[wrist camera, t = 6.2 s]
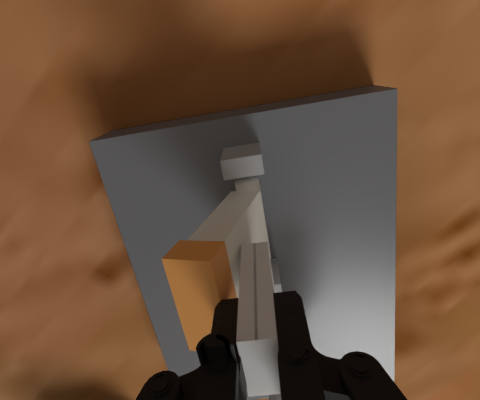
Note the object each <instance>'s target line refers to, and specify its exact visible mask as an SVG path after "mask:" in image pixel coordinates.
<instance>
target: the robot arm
mask: <svg viewBox="0 0 480 400" xmlns="http://www.w3.org/2000/svg"><path fill="white" fill-rule="evenodd" d="M196 351H197V354H198V358H199V361H200V365H201V366H199V367H198V368H197V369H195V370H193V371H191V372H189V373H187V374H184V375H182V376H178V375H177V374H176V373H175V372H172V371H162V372H159V373H156V374H155V375H153V376H152V377H151V378H149V379H148V381H147V382H146V383H145V384H144V386H143V388H142V390H141V391H140V393H139V395H138V396H137V398H136V400H247V393H248V397H252V396H264V395H274V394H281V400H407V399H406V397H405V396H404V395H403V393H402V392H401V391H400V389H399V388H398V387H397V385H396V384H395V383H394V381H393V380H392V379H391V377H390V376H389V375H388V373H387V372H386V371H385V369H384V368H383V367H382V365H381V364H380V363H379V362H378V361H377V360H376V359H375V358H374V357H373V356H371V355H369V354H367V353H365V352H359V351H355V352H349V353H347V354H345V355H344V356H343V357H342V358H341V359H336V358H331V357H327V356H325V355H323V354H321V353H319V352H318V351H317V350H316V349H315V348H314V346H313V344H312V342H311V338H310V333H309V329H308V324H307V319H306V315H305V310H304V306H303V301H302V297H301V296H300V295H299V294H298V293H297V292H296V291H286V292H277V293H275V287H274V280H273V273H272V267H271V260H270V254H269V248H268V241H267V242H259V243H252V244H244V245H241V263H240V281H239V298H232V299H224V300H221V301H220V302H219V303H218V304H217V306H216V307H215V310H214V316H213V323H212V329H211V334H208V335H206V336H205V337H203V338H202V339H201V340H200V341H199V342H198V344H197V347H196Z"/></svg>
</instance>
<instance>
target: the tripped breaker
mask: <svg viewBox="0 0 480 400" xmlns="http://www.w3.org/2000/svg"><path fill="white" fill-rule="evenodd" d="M235 188H236V191H231V192H230V193H229V194H228V195H227V197H226V198H225V199H224V200H223V201H222V202H221V203H220V204H219V205H218V207H217V208H216V209H215V210H214V211H213V212H212V213H211V214H210V215H209V216H208V218H207V219H206V220H205V221H204V222H203V223H202V224H201V225H200V226H199V228H198V229H197V230H196V231H195V232H194V233H193V234H192V235H191V236H190V237H189V239H188V240H179V241H178V242H177V243H176V244H175V245H174V246H173V247H172V248H171V249H170V250H169V251H168V253H167V254H166V255H165V256H164V257H163V258H162V262H163V266H164V269H165V272H166V275H167V279H168V282H169V285H170V288H171V292H172V295H173V298H174V302H175V305H176V308H177V311H178V315H179V318H180V321H181V325H182V328H183V331H184V334H185V338H186V341H187V344H188V347H189V350H191V351H196V347H197V344H198V342H199V341H200V340H201V339H202V338H203V337H205V336H206V335H208V334H211V329H212V323H213V316H214V310H215V307H216V306H217V304H218V303H219V302H220V301H221V300H224V299H232V298H239V281H240V263H241V245H244V244H252V243H259V242H267V241H268V248H269V254H270V260H271V253H270V247H269V240H268V234H267V228H266V221H265V215H264V208H263V202H262V196H261V189H260V183H259V178H258V177H253V176H251V177H244V178H240V179H238V180H236V181H235Z"/></svg>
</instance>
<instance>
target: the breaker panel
mask: <svg viewBox="0 0 480 400" xmlns="http://www.w3.org/2000/svg"><path fill="white" fill-rule="evenodd" d="M89 143H90V146H91V149H92V152H93V155H94V158H95V161H96V164H97V166H98V169H99V172H100V175H101V178H102V181H103V184H104V187H105V189H106V192H107V195H108V198H109V201H110V204H111V207H112V210H113V212H114V215H115V218H116V221H117V224H118V227H119V230H120V233H121V235H122V238H123V241H124V244H125V247H126V250H127V253H128V256H129V258H130V261H131V264H132V267H133V270H134V273H135V276H136V279H137V281H138V284H139V287H140V290H141V293H142V296H143V299H144V302H145V304H146V307H147V310H148V313H149V316H150V319H151V322H152V324H153V327H154V330H155V333H156V336H157V339H158V342H159V345H160V347H161V350H162V353H163V356H164V359H165V362H166V365H167V368H168V370H169V371H172V372H175V373H176V374H177V375H178V376H182V375H184V374H187V373H189V372H191V371H193V370H195V369H197V368H198V367H199V366H201V365H200V361H199V358H198V354H197V351H191V350H189V347H188V344H187V341H186V338H185V334H184V331H183V328H182V325H181V321H180V318H179V315H178V311H177V308H176V305H175V302H174V298H173V295H172V292H171V288H170V285H169V282H168V279H167V275H166V272H165V269H164V266H163V262H162V258H163V257H164V256H165V255H166V254H167V253H168V251H169V250H170V249H171V248H172V247H173V246H174V245H175V244H176V243H177V242H178V241H179V240H188V239H189V237H190V236H191V235H192V234H193V233H194V232H195V231H196V230H197V229H198V228H199V226H200V225H201V224H202V223H203V222H204V221H205V220H206V219H207V218H208V216H209V215H210V214H211V213H212V212H213V211H214V210H215V209H216V208H217V207H218V205H219V204H220V203H221V202H222V201H223V200H224V199H225V198H226V197H227V195H228V194H229V193H230V192H231V191H236V188H235V181H236V180H238V179H240V178H244V177H251V176H253V177H258V178H259V183H260V189H261V196H262V202H263V208H264V215H265V221H266V228H267V234H268V240H269V247H270V253H271V267H272V273H273V280H274V287H275V293H277V292H286V291H296V292H297V293H298V294H299V295H300V296H301V297H302V301H303V306H304V310H305V315H306V319H307V324H308V329H309V333H310V338H311V342H312V344H313V346H314V348H315V349H316V350H317V351H318V352H319V353H321V354H323V355H325V356H327V357H331V358H336V359H341V358H342V357H343V356H344V355H345V354H347V353H349V352H355V351H359V352H365V353H367V354H369V355H371V356H373V357H374V358H375V359H376V360H377V361H378V362H379V363H380V364H381V365H382V367H383V368H384V369H385V371H386V372H387V373H388V375H389V376H390V377H391V379H392V380H393V381H394V357H395V260H396V163H397V88H390V87H383V86H376V85H372V86H366V87H360V88H355V89H349V90H343V91H337V92H332V93H326V94H320V95H314V96H309V97H303V98H297V99H291V100H286V101H280V102H274V103H268V104H263V105H257V106H251V107H245V108H240V109H234V110H228V111H222V112H217V113H211V114H205V115H199V116H194V117H188V118H182V119H176V120H171V121H165V122H159V123H153V124H148V125H142V126H136V127H130V128H125V129H119V130H113V131H110V132H108V133H106V134H104V135H102V136H100V137H98V138H95V139H93V140H91V141H89ZM263 398H269V400H281V394H274V395H264V396H252V397H248V393H247V400H253V399H263Z"/></svg>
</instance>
